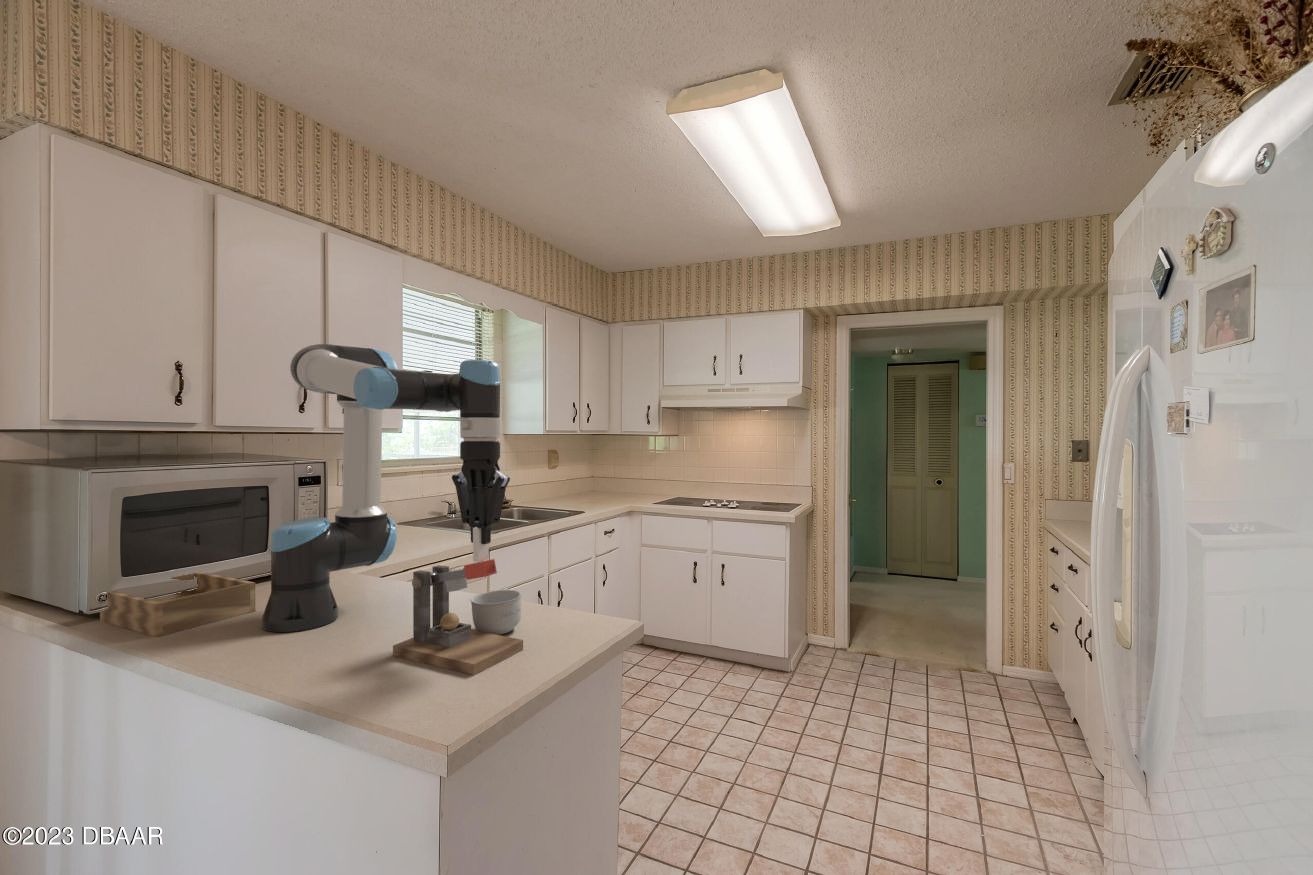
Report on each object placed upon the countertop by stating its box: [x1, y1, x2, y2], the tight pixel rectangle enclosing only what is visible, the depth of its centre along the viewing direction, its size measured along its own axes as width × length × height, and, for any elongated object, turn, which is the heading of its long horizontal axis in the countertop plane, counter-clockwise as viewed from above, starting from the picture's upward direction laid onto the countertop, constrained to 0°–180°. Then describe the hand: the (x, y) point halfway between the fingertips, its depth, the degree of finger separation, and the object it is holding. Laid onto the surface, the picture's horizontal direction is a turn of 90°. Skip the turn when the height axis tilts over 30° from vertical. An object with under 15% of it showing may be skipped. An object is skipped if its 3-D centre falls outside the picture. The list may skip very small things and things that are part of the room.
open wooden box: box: [99, 571, 256, 638], centre depth 142 cm, size 24×20×7 cm
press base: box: [392, 564, 524, 676], centre depth 119 cm, size 21×14×16 cm, turn 64°
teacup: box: [470, 587, 522, 636], centre depth 134 cm, size 14×11×8 cm
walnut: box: [440, 612, 460, 631], centre depth 120 cm, size 4×4×4 cm
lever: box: [430, 558, 498, 593], centre depth 119 cm, size 17×3×5 cm, turn 64°
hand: (480, 559), depth 116 cm, fingers closed
